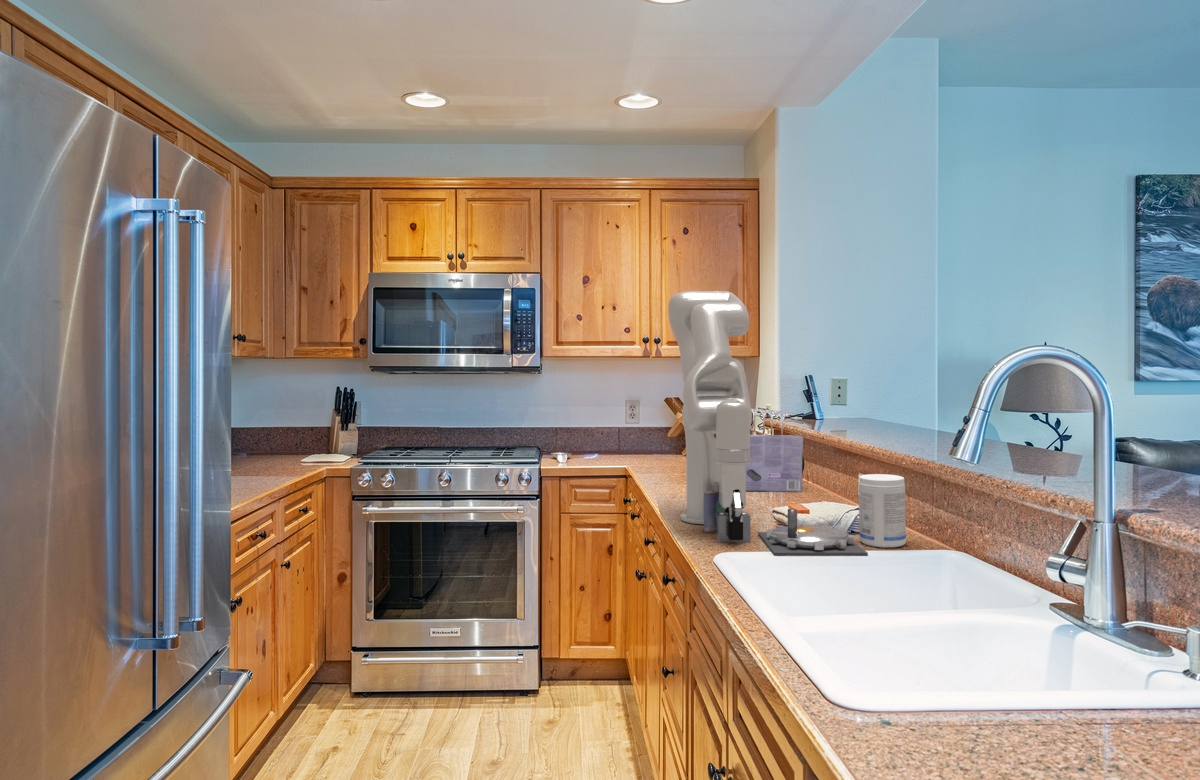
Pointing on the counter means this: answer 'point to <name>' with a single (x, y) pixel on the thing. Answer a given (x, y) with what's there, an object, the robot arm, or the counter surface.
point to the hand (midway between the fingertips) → (733, 535)
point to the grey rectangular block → (723, 527)
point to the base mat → (811, 549)
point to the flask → (712, 509)
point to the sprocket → (808, 535)
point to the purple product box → (775, 463)
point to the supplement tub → (882, 510)
